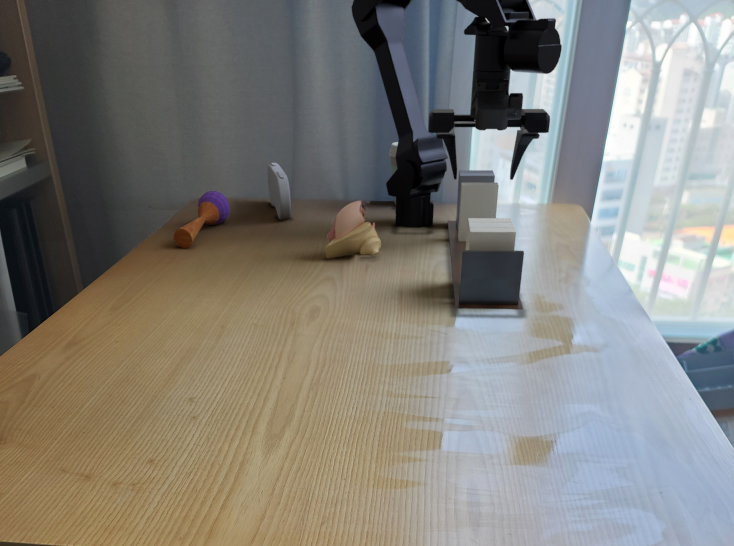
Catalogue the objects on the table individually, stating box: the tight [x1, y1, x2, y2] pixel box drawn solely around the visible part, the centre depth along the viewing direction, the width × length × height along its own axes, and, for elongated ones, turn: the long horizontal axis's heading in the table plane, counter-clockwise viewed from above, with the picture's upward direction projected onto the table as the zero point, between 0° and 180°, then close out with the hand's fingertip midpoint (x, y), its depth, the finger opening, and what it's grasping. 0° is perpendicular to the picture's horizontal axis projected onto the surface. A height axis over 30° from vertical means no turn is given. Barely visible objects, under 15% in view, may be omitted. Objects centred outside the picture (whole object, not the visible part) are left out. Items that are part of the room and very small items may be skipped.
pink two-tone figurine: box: [325, 199, 382, 259], centre depth 122 cm, size 9×10×10 cm
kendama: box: [173, 190, 231, 249], centre depth 137 cm, size 6×6×20 cm
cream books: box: [466, 217, 517, 251], centre depth 103 cm, size 6×7×9 cm
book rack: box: [447, 220, 525, 310], centre depth 118 cm, size 9×48×8 cm, turn 176°
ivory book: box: [458, 182, 500, 242], centre depth 126 cm, size 6×2×9 cm, turn 86°
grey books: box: [455, 169, 496, 229], centre depth 134 cm, size 6×5×9 cm
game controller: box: [267, 162, 292, 220], centre depth 149 cm, size 20×2×8 cm, turn 13°
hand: (483, 179), depth 123 cm, fingers open, 9 cm apart
